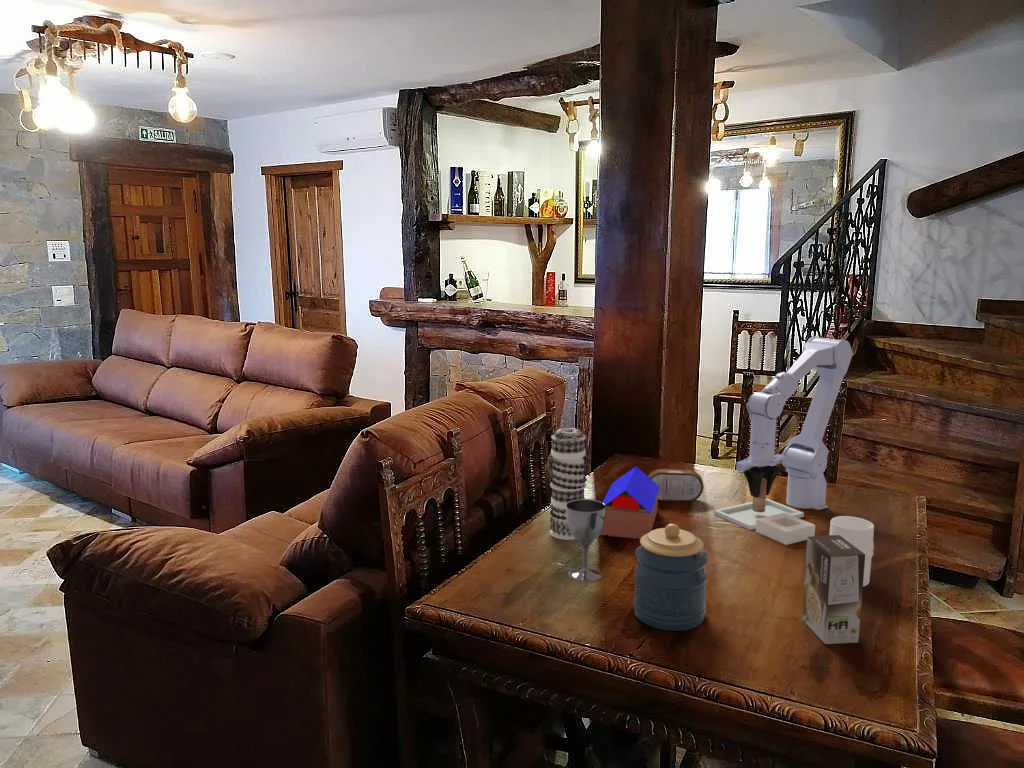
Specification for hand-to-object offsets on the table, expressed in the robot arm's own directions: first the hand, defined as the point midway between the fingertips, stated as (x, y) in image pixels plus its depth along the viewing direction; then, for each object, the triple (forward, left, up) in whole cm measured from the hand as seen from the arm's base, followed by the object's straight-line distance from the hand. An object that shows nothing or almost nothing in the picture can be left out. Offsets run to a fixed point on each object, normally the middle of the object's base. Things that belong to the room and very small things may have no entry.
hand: (759, 495), depth 187 cm
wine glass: (+55, +6, -6) cm, 56 cm away
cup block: (+4, +12, -6) cm, 14 cm away
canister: (+51, +28, -6) cm, 59 cm away
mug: (+8, +32, -6) cm, 34 cm away
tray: (0, 0, -6) cm, 6 cm away
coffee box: (+30, +46, -6) cm, 55 cm away
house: (+29, -13, -7) cm, 33 cm away
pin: (0, 0, -4) cm, 4 cm away
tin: (+9, -21, -6) cm, 24 cm away
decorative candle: (+46, -15, -6) cm, 49 cm away
